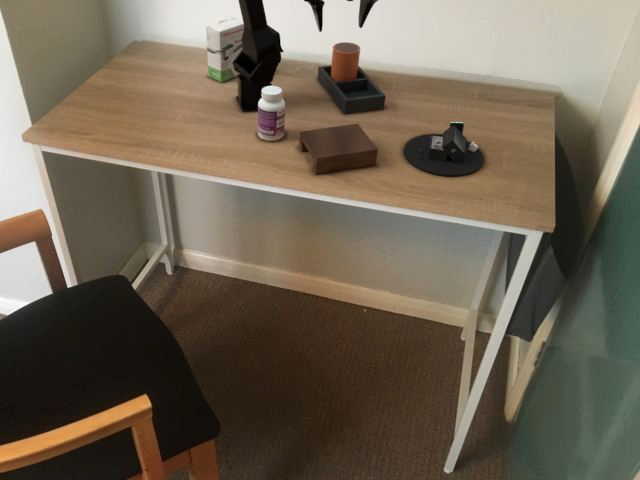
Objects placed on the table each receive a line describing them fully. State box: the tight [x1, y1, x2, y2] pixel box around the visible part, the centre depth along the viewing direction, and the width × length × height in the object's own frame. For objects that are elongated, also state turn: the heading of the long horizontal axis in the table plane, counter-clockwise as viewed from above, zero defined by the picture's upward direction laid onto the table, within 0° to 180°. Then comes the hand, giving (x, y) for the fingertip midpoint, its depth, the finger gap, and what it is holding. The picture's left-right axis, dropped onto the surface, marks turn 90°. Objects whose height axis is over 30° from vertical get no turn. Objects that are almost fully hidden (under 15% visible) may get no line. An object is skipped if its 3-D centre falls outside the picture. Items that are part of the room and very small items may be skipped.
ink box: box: [205, 16, 244, 83], centre depth 140 cm, size 9×5×12 cm, turn 134°
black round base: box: [403, 121, 484, 178], centre depth 116 cm, size 15×15×6 cm
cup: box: [330, 41, 361, 82], centre depth 136 cm, size 6×6×8 cm
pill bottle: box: [257, 85, 286, 142], centre depth 120 cm, size 5×5×10 cm
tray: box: [317, 64, 386, 115], centre depth 135 cm, size 9×17×3 cm, turn 15°
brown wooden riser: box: [298, 123, 379, 175], centre depth 116 cm, size 12×10×4 cm
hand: (340, 29), depth 131 cm, fingers open, 9 cm apart
